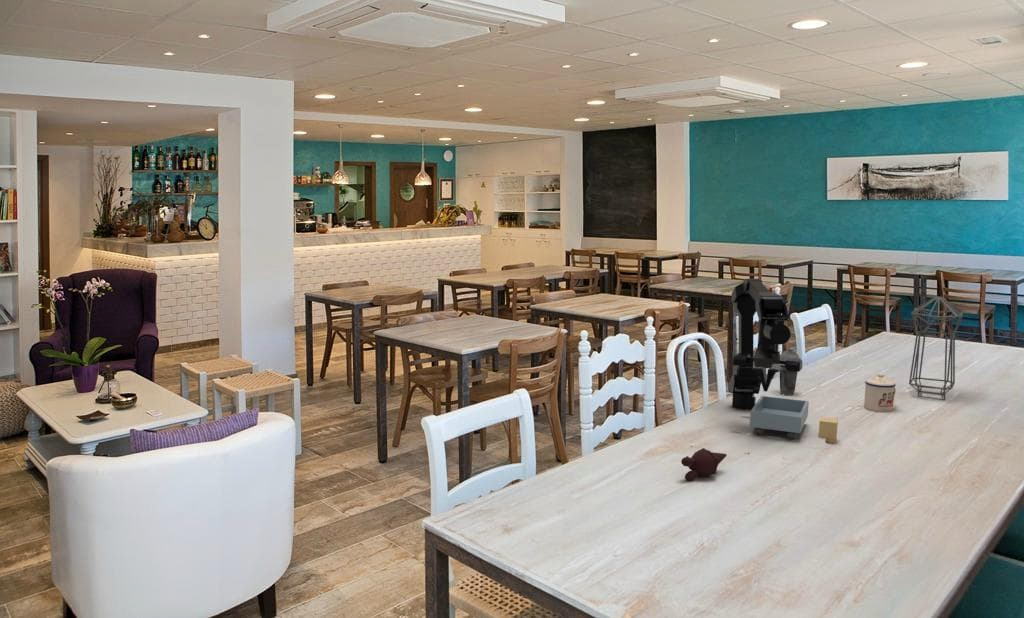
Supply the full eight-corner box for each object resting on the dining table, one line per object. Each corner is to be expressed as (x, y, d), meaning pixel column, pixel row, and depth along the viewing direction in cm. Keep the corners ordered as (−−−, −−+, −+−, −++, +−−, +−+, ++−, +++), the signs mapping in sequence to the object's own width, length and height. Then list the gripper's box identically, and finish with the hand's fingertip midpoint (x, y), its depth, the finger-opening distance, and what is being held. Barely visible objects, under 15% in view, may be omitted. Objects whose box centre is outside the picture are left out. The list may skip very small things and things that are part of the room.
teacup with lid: (881, 413, 253) (883, 378, 251) (856, 406, 261) (859, 372, 259) (905, 409, 259) (908, 374, 257) (881, 402, 267) (883, 368, 265)
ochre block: (818, 441, 224) (819, 420, 224) (819, 437, 228) (821, 416, 228) (835, 443, 222) (836, 423, 222) (836, 439, 226) (837, 419, 226)
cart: (749, 434, 225) (750, 411, 224) (760, 417, 243) (761, 395, 242) (799, 441, 219) (801, 417, 218) (807, 423, 237) (808, 401, 236)
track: (723, 437, 227) (723, 432, 227) (737, 418, 247) (737, 414, 247) (796, 447, 219) (797, 442, 218) (805, 426, 238) (805, 422, 238)
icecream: (712, 440, 203) (670, 456, 195) (734, 441, 197) (691, 457, 189) (717, 467, 203) (676, 483, 195) (740, 468, 197) (697, 485, 189)
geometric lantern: (954, 404, 265) (964, 300, 260) (902, 397, 273) (910, 297, 268) (957, 394, 278) (966, 295, 273) (907, 388, 286) (915, 292, 281)
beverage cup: (799, 397, 273) (803, 340, 270) (777, 395, 274) (780, 339, 272) (796, 392, 280) (800, 336, 277) (775, 390, 282) (778, 335, 279)
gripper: (729, 339, 226) (726, 393, 228) (798, 345, 217) (794, 401, 219) (738, 334, 236) (735, 385, 238) (804, 339, 227) (801, 392, 229)
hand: (765, 391), depth 231 cm, fingers closed
